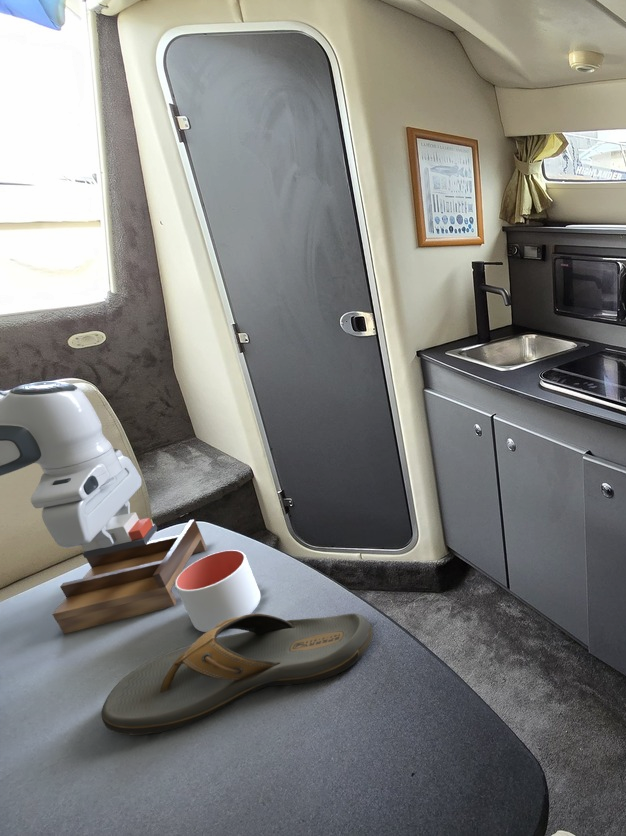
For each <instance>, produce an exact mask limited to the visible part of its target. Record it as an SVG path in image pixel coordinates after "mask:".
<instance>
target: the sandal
mask: <svg viewBox="0 0 626 836" xmlns="http://www.w3.org/2000/svg"><path fill="white" fill-rule="evenodd" d="M225 630H241V631H244V632H240V633H234V634H228V635H223V636H219V634H221V633H222V632H223V631H225ZM373 635H374V630H373V626H372V624H371V622H370V621H369V620H368V619H367V618H366V617H365V616H363V615H362V614H360V613H355V612H354V613H345V614H340V615H339V614H338V615H330V616H324V617H310V618H297V619H287V620H285V619H283V618H280V617H277V616H273V615H270V614H264V613H251V614H249V615H244V616H241V617H237V618H232V619H229V620H226V621H224V622H221V623H220V624H218V625H217V626H216V627H215V628H214V629H212V630H210V631H208V632H204V633H203V634H201V636H199V637H198V638H197V639H196V640H195V641H194V642H193V643H192V644H189V645H186V646H183V647H179V648H177V649H174V650H172V651H169V652H167V653H164V654H162V655H159V656H158V657H155V658H154V659H151V660H149V661H147V662H145V663H143V664H141V665H140V666H138V667H137V668H135V669H133V670H132V671H130V672H129V673H128V674H127V675H126V676H125V677H122V679H121V680H119V682H118V683H117V684H116V685H115V686H114V687H113V688H112V690H111V691H110V692H109V694H108V695H107V696H106V698H105V700H104V703H103V705H102V708H101V715H100V716H101V719H102V723H103V724H104V726H105V728H107V729H108V731H111V732H114V733H117V734H121V735H125V736H129V735H132V736H137V735H138V736H141V735H149V734H157V733H161V732H162V733H163V732H168V731H171V730H176V729H179V728H181V727H185V726H188V725H190V724H192V723H193V724H194V723H196V722H197V721H200V720H202V719H204V718H206V717H208V716H210V715H212V714H214V713H216V712H218V711H220V710H222V709H223V708H225V707H227V706H228V705H230V704H232V703H234V702H236V701H238V700H240V699H241V698H243V697H246V696H247V695H249V694H251V693H254V692H256V691H258V690H261V689H264V688H267V687H270V686H271V687H272V686H280V685H283V686H286V685H301V684H308V683H313V682H319V681H322V680H325V679H329V678H332V677H334V676H336V675H338V674H340V673H343V672H344V671H346V670H348V669H349V668H350V667H352V666H353V665H354V664H355V663H357V661H358V660H360V659H361V658H362V657H363V655H364V654H365V653H366V651H367V650H368V648H369V646H370V644H371V642H372V639H373ZM218 636H219V637H218Z"/></svg>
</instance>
